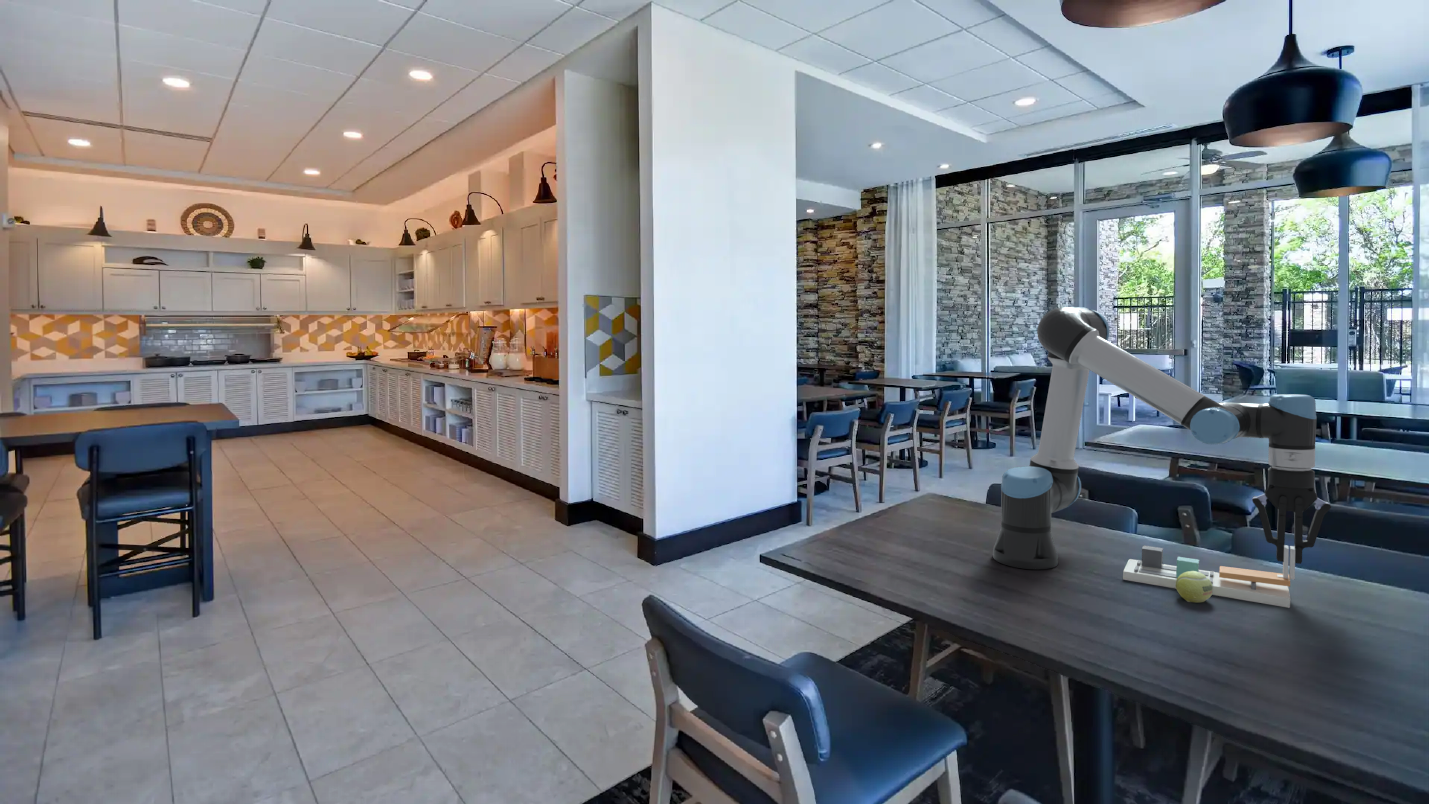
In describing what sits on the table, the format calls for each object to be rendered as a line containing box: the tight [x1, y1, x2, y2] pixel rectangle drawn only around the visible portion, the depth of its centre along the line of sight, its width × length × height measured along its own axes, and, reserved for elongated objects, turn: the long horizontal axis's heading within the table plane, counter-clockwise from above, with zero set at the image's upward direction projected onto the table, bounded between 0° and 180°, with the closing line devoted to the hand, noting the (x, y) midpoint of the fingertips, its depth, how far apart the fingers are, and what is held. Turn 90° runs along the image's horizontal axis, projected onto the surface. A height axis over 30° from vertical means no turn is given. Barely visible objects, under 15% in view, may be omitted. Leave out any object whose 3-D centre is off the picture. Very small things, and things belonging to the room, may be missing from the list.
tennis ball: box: [1175, 571, 1213, 604], centre depth 147 cm, size 6×7×7 cm
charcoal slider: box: [1141, 545, 1164, 568], centre depth 163 cm, size 4×3×4 cm
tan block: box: [1218, 565, 1291, 588], centre depth 149 cm, size 12×5×1 cm, turn 53°
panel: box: [1122, 558, 1291, 609], centre depth 155 cm, size 30×11×3 cm, turn 53°
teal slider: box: [1176, 556, 1200, 577], centre depth 154 cm, size 4×3×4 cm
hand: (1288, 577), depth 145 cm, fingers closed
